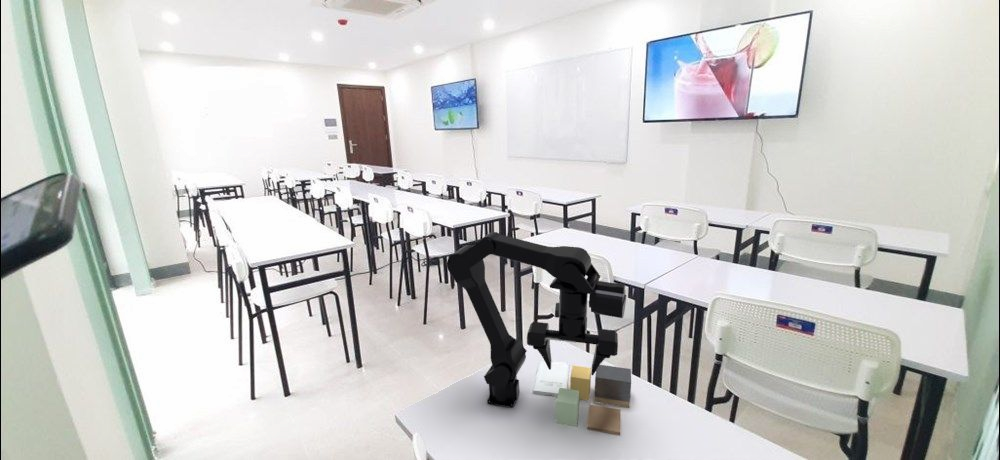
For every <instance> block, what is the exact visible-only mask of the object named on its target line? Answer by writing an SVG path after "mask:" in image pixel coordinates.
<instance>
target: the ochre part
mask: <svg viewBox="0 0 1000 460" xmlns="http://www.w3.org/2000/svg"><path fill="white" fill-rule="evenodd" d="M570 371H571V372H570V383H569V384H570V387H569V389H571V390H577V391H579V400H585V401H590V393H591V379H592V375H591V371H592V367H587V366H579V365H574V364H573V365H572V367H571V370H570Z"/></svg>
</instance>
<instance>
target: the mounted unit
mask: <svg viewBox="0 0 1000 460" xmlns="http://www.w3.org/2000/svg"><path fill="white" fill-rule="evenodd" d="M594 375H595V378H594V397H593V398H594V400H593V402H594V403H600V404H605V405H611V406H618V407H625V408H630V407H631V406H630V404H631V392H632V391H631V389H632V369H631V368H627V367H620V366H619V367H618V366H612V365H606V364H605V365H604V364H600V365H599V366H598V368H597V370H596V371H595V374H594Z"/></svg>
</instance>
